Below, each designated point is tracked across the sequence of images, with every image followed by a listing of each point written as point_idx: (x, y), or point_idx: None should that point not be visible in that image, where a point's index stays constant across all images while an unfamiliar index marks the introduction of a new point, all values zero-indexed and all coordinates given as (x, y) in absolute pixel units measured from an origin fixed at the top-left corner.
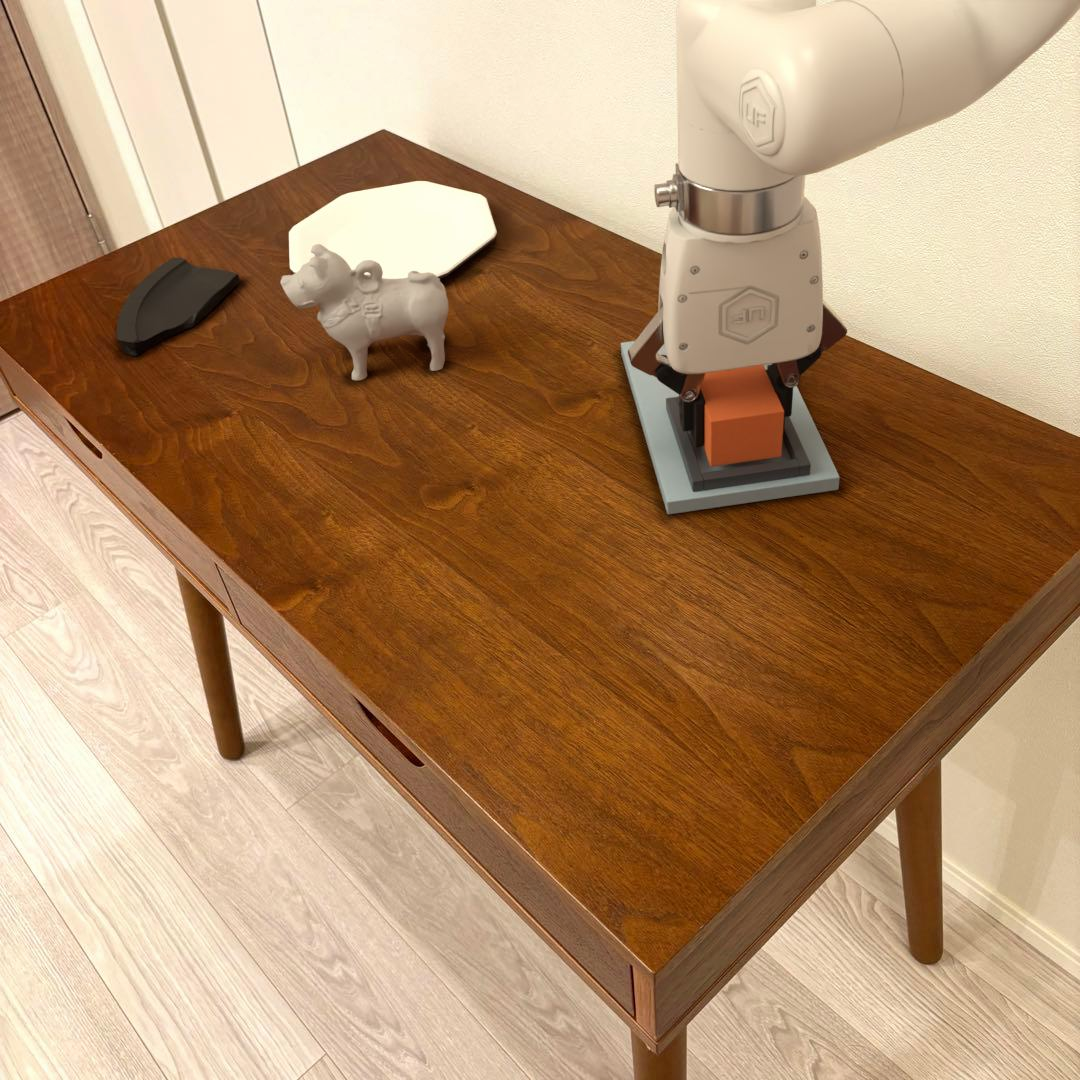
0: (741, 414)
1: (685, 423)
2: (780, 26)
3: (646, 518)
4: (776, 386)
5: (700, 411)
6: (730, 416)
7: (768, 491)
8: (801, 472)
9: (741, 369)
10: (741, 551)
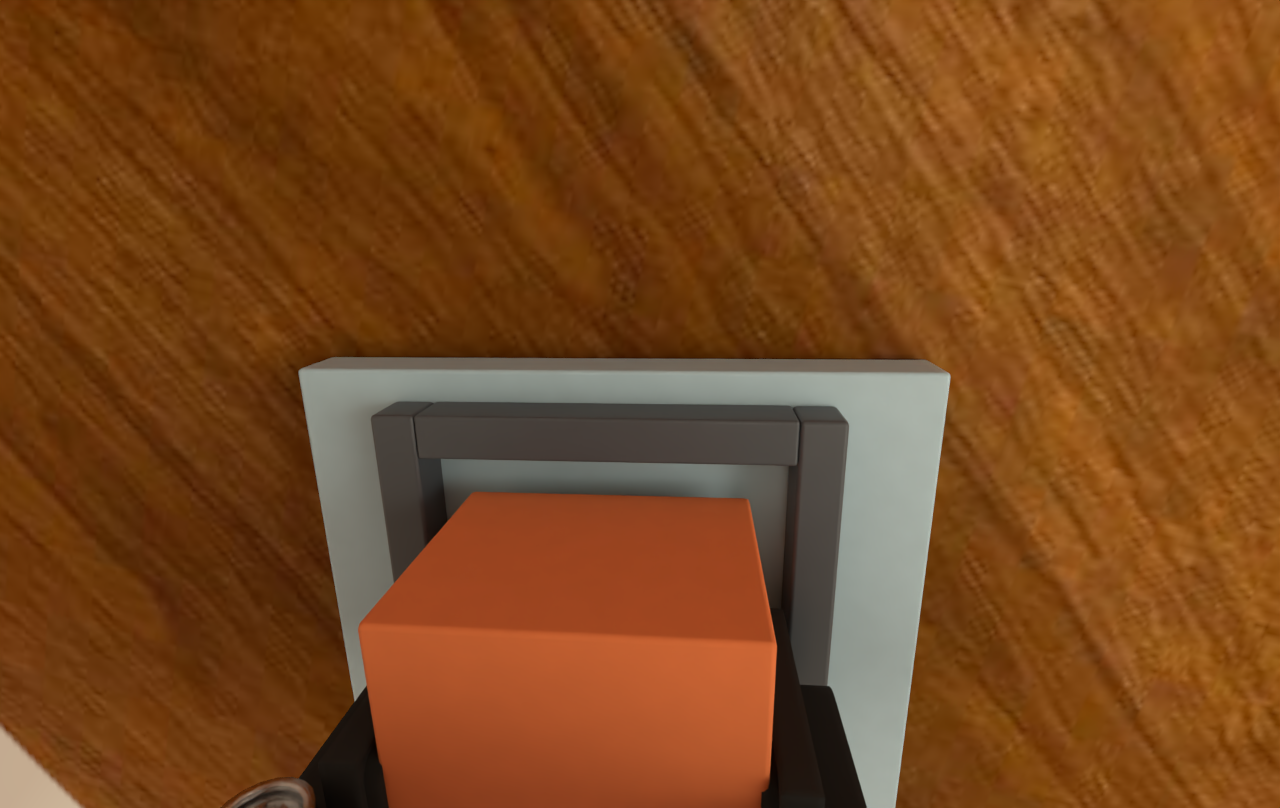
0: (590, 657)
1: (833, 714)
2: None
3: (1006, 360)
4: (366, 805)
5: (791, 746)
6: (655, 656)
7: (556, 367)
8: (419, 405)
9: None
10: (716, 108)
